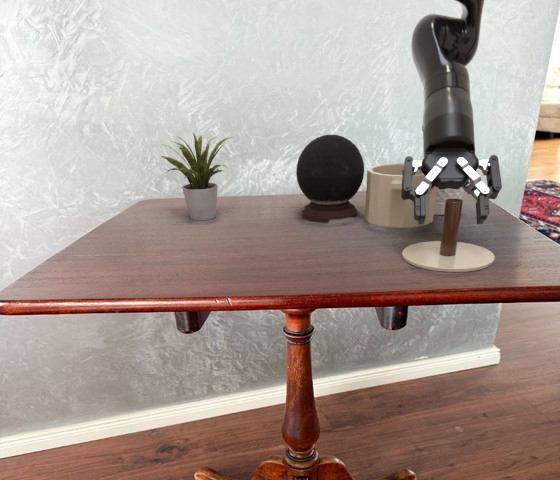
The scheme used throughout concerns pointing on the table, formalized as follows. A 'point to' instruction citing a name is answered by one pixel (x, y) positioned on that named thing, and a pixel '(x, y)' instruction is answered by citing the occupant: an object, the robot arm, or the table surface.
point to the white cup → (444, 195)
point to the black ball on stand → (330, 177)
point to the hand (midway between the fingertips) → (451, 221)
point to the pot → (393, 198)
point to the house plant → (198, 179)
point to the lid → (449, 247)
